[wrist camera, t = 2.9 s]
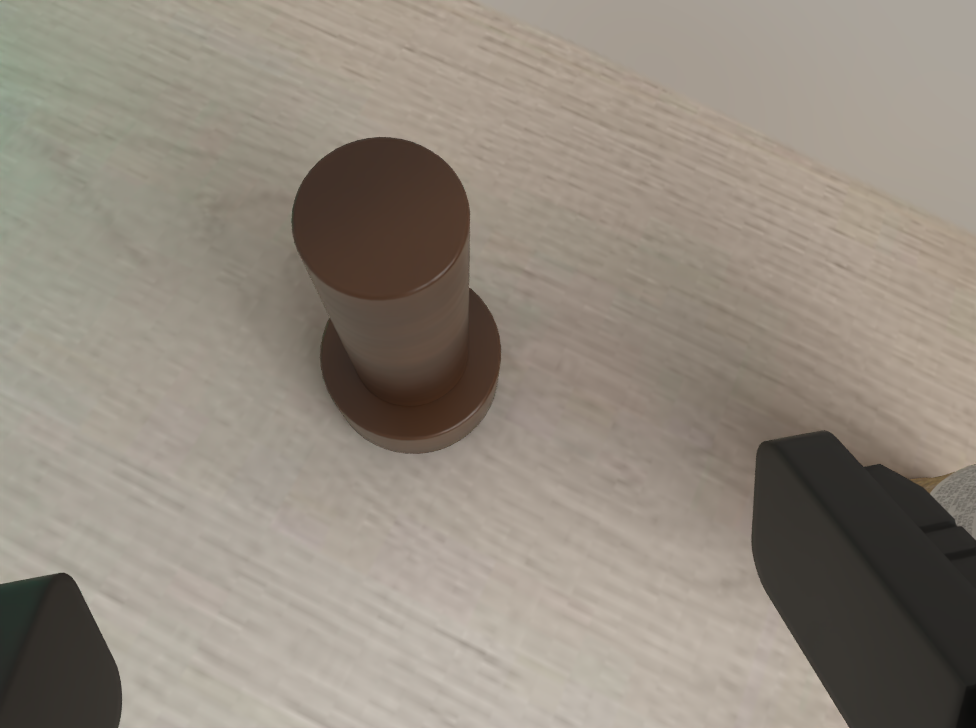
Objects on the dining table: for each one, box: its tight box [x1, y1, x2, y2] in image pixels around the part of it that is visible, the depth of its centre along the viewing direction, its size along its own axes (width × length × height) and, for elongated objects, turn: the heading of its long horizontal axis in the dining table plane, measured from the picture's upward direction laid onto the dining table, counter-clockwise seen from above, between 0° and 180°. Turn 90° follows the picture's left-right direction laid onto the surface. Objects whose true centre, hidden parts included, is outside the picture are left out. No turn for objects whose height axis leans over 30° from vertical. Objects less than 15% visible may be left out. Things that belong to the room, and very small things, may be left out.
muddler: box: [291, 137, 501, 454], centre depth 18 cm, size 4×4×10 cm
